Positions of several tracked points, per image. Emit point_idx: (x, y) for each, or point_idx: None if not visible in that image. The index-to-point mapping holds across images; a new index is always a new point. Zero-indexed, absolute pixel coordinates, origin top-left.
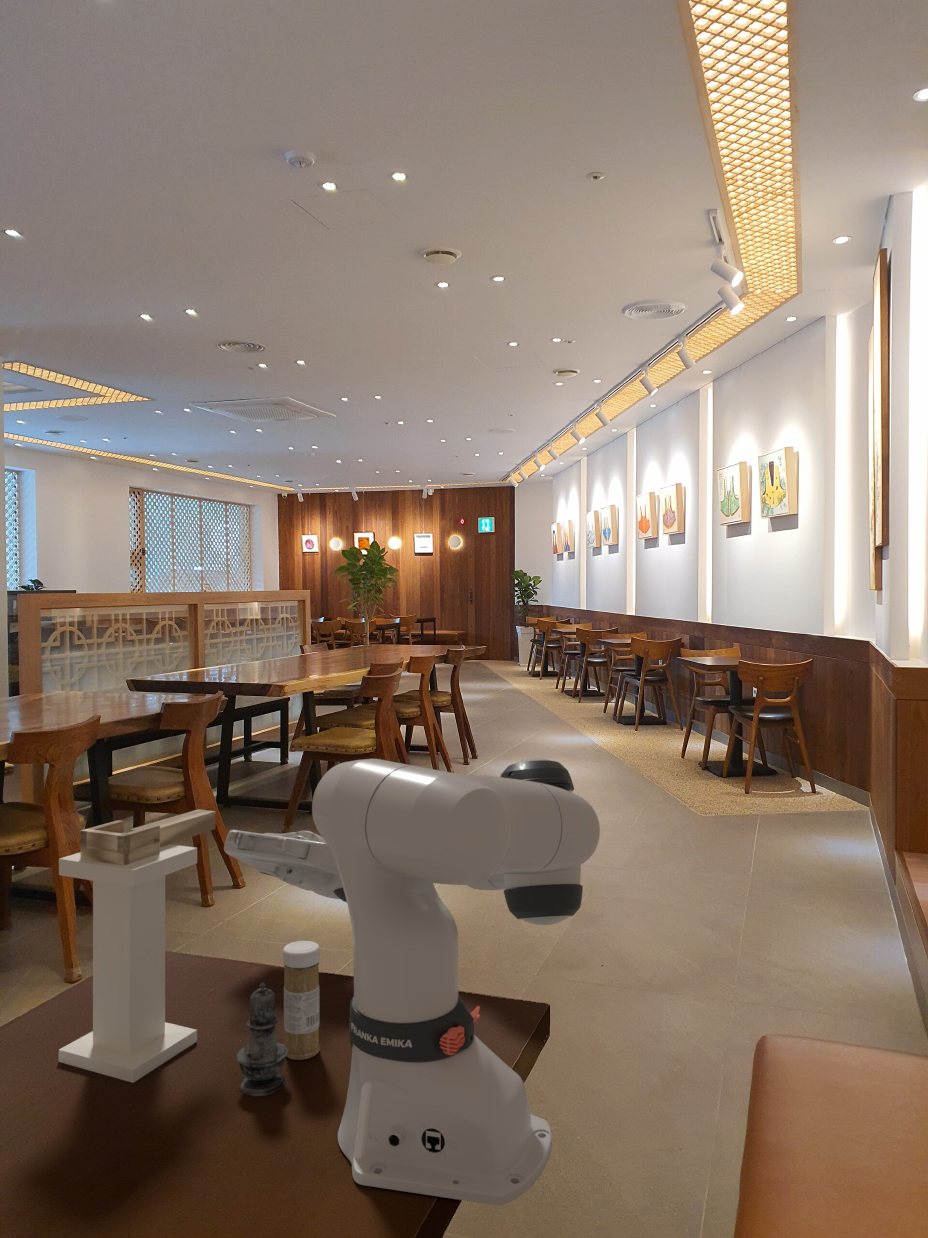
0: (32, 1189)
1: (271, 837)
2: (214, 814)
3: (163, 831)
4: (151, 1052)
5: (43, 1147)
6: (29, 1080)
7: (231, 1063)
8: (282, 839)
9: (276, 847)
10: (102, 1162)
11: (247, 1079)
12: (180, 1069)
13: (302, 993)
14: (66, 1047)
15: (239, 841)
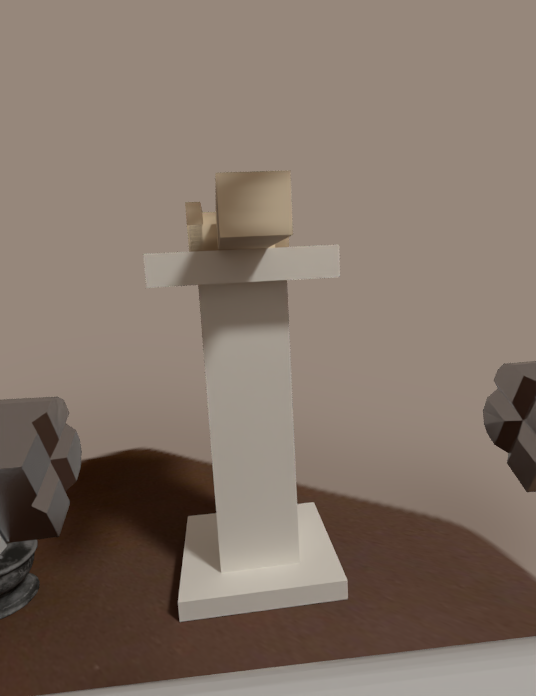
0: (156, 457)
1: (456, 651)
2: (216, 184)
3: (216, 219)
4: (197, 540)
5: (189, 470)
6: (302, 494)
7: (77, 609)
8: (16, 401)
9: (76, 448)
10: (125, 479)
11: (26, 582)
12: (151, 568)
13: None
14: (310, 506)
15: (523, 456)
